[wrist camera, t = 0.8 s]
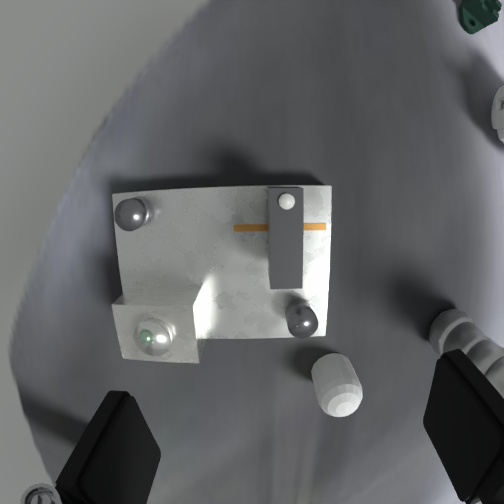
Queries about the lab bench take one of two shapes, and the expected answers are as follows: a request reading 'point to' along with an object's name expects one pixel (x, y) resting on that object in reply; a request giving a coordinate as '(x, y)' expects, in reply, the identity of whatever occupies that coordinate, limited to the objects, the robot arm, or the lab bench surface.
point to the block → (285, 236)
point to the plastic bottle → (468, 344)
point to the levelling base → (212, 270)
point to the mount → (478, 14)
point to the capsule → (336, 385)
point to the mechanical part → (498, 113)
